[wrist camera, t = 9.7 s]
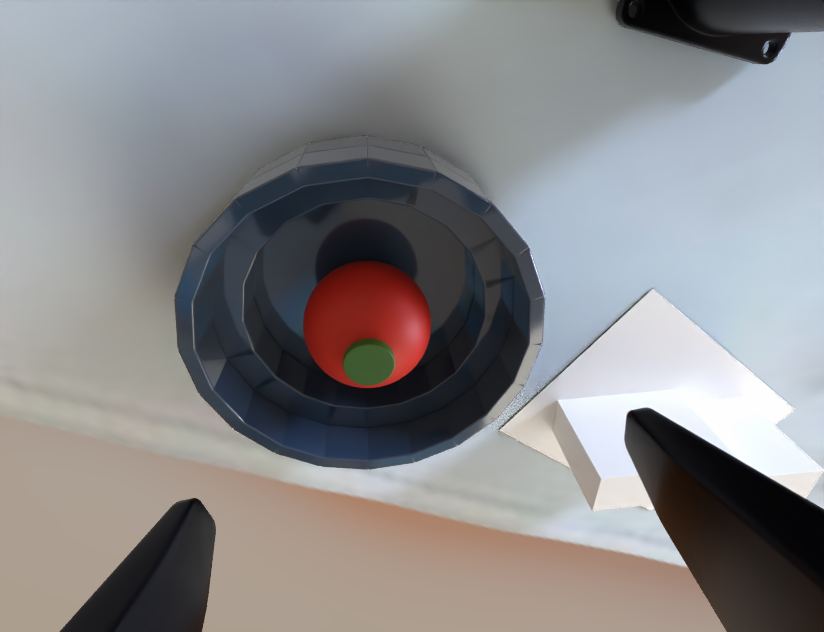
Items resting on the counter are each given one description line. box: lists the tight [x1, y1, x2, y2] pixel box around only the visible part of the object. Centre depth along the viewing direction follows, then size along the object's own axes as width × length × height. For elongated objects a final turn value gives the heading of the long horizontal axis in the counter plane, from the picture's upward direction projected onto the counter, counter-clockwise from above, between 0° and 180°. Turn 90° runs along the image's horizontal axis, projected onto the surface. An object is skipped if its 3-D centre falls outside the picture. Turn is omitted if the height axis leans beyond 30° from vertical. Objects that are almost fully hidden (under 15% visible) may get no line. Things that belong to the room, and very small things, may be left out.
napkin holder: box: [499, 289, 824, 511], centre depth 24 cm, size 15×11×6 cm
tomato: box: [303, 261, 431, 388], centre depth 18 cm, size 5×5×5 cm
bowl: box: [174, 135, 545, 469], centre depth 18 cm, size 13×13×4 cm
